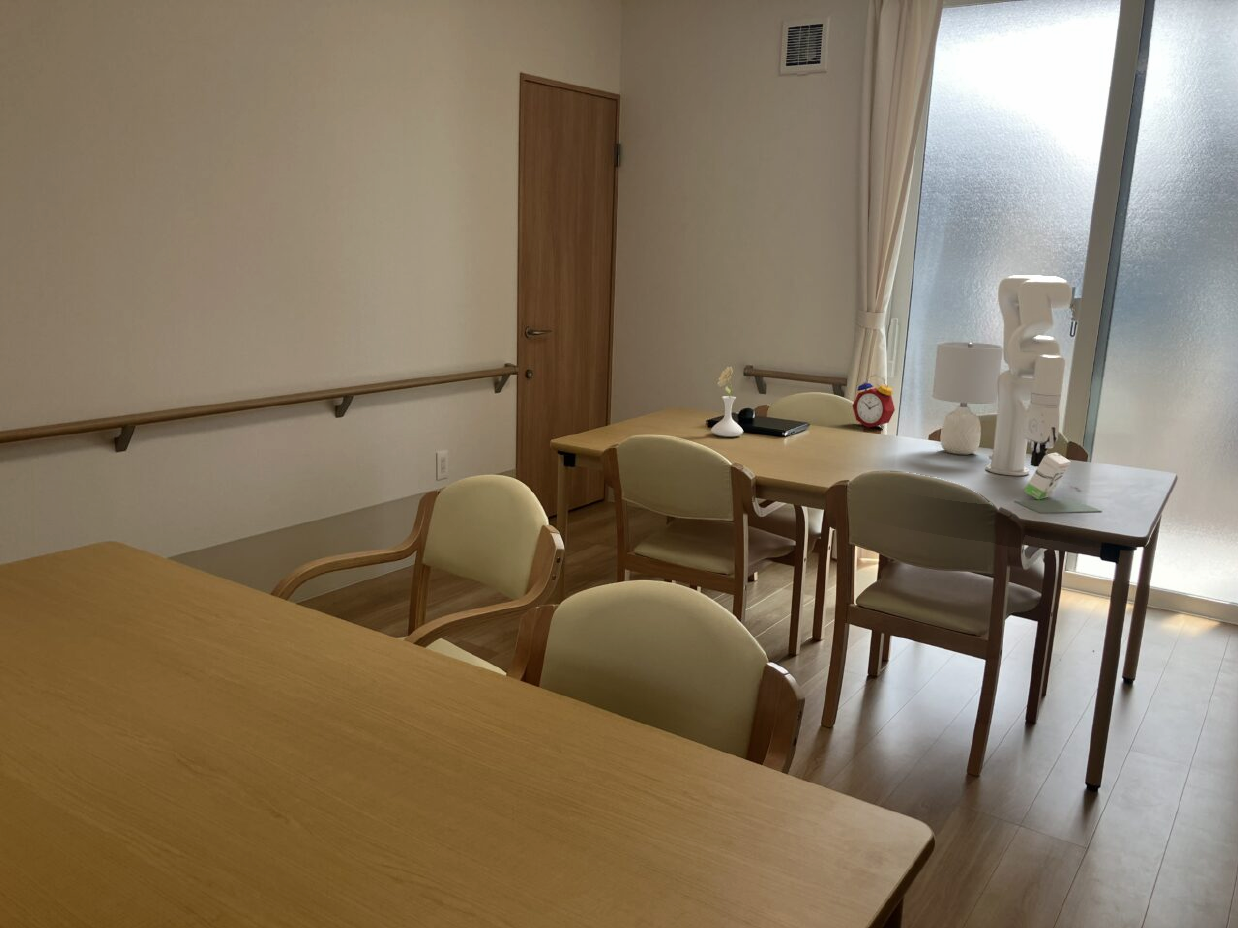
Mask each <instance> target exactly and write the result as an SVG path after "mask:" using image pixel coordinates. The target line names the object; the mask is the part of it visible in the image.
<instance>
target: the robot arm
mask: <svg viewBox="0 0 1238 928" xmlns="http://www.w3.org/2000/svg"><path fill="white" fill-rule="evenodd" d="M997 298H998V299H997V300H998V301H997V302H998V306H999V309H1000V313H1001V316H1002V320H1003V340H1002V341H1003V346H1002V347H1003V352H1002V356H1003V360H1004V363H1005V364H1007V365H1008V370H1005V371H1002V373H1001V372H1000V376H999V378H998V384H997V387H998V396H997V411H996V413H997V415H996V424H995V430H994V441H993V448H992V449H993V450H992V454H989V455H988V459H989V460H991V461H990V463H989V464H986V466H985V471H988V472H991V473H994V474H998V475H1004V476H1018V477H1019V476H1020V477H1021V476H1026V475H1029V474H1030V469H1029V468H1028V467H1026V466H1025V465H1026V457H1027V448H1028V443H1029V444H1030V450H1031V451H1032V452H1031V457H1030V458H1031V459H1030V465H1031V466H1033V467H1036V468H1038V466H1039V464H1040V463H1041V461H1042V459H1043V458H1044V456H1045V455H1047V454H1048V451H1049V449H1053V448H1054V443H1057V441H1058V438H1059V433H1060V430H1059V429H1060V406H1061V398H1062V389H1063V383H1064V374H1065V366H1066V359H1065V357H1063V356H1062V355H1061V351H1060V343H1059V341H1058V339H1056V338H1055V337H1052V336H1049V335H1048V336H1047V335H1044V334H1046V333H1048V332H1049V331H1050V330H1051V329H1052V327H1053V326H1054V318H1053V312H1052V310H1065V309H1067V308H1069V306H1070V304H1071V303H1072V298H1073V293H1072V287H1071V285H1070V284H1069V282H1068V281H1067V280H1066V279H1064V278H1061V277H1058V276H1047V275H1046V276H1045V275H1044V276H1043V275H1023V274H1022V275H1010V276H1007V277H1004V278H1003V279H1001V281H1000V283H999V285H998V292H997ZM1024 403H1028V405H1027V407H1026V406H1025V405H1024ZM1046 453H1047V454H1046Z"/></svg>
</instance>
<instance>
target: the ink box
mask: <svg viewBox="0 0 1238 928" xmlns="http://www.w3.org/2000/svg"><path fill="white" fill-rule="evenodd" d="M1070 464H1071V460H1069V459H1067V458H1066V457H1064V456H1062V454H1060V453H1058V452H1052V453H1047V454H1046V455H1045V456H1044V458H1043V459H1042V461H1041V463H1040V464H1039V466H1038V467H1036V470H1035V471H1034V473H1033V475H1032V477H1031V479H1030V480H1029V481H1028V483H1027V485H1026V487H1025V489H1024V492H1025V493H1026V494H1028V495H1030V496H1032V497H1033V498H1035V499H1036V500H1044V499H1045V498H1048V497H1050V496H1051V495H1052V494H1053V492H1054V490H1055V489H1056V487H1057V485H1058V484H1059V483H1060V481H1061V479H1062V478H1063V476H1064V474H1065V472H1066V471H1067V469H1068V468H1069V466H1070Z"/></svg>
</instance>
